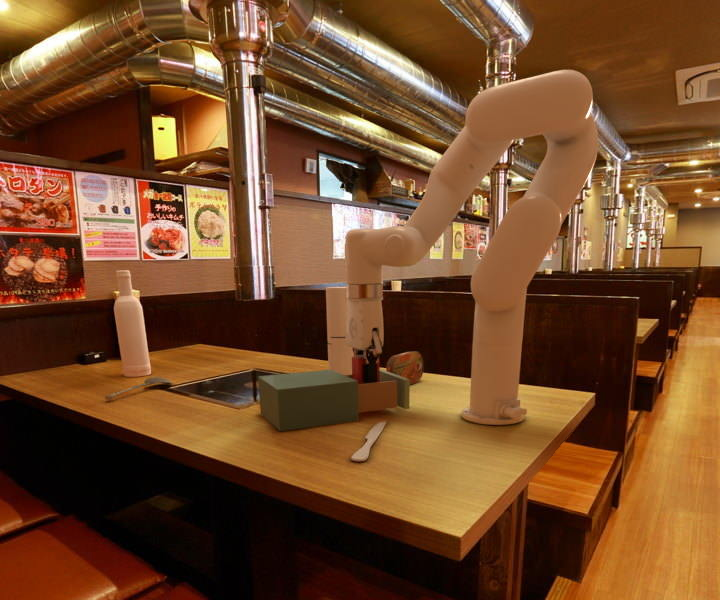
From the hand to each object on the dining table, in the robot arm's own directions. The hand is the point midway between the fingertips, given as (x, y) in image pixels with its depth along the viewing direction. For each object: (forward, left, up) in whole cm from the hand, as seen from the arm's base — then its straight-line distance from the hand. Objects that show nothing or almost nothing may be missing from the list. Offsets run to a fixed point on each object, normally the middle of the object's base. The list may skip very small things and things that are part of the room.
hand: (365, 379), depth 121 cm
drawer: (0, 0, -6) cm, 6 cm away
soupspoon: (+44, +45, -7) cm, 63 cm away
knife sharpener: (0, 0, -5) cm, 5 cm away
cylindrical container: (+30, -6, -7) cm, 31 cm away
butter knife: (-21, +9, -7) cm, 24 cm away
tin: (+20, -20, -7) cm, 29 cm away
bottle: (+71, +44, -7) cm, 84 cm away
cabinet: (0, +14, -7) cm, 15 cm away
